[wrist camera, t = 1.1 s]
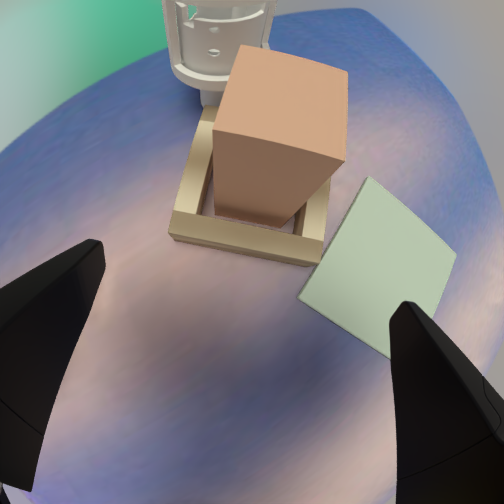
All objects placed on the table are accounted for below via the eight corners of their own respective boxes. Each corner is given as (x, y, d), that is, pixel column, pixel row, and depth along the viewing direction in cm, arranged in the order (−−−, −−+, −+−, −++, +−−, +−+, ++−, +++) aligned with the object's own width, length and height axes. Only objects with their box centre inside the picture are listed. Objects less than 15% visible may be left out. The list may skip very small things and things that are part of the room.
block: (280, 228, 22) (345, 161, 10) (214, 214, 22) (212, 129, 10) (290, 169, 23) (347, 72, 11) (228, 155, 22) (240, 44, 10)
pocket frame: (306, 267, 22) (320, 263, 19) (174, 240, 21) (167, 232, 18) (322, 151, 23) (334, 134, 20) (206, 125, 22) (205, 104, 19)
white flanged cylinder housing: (238, 65, 24) (258, -68, 9) (271, 117, 23) (321, -29, 8) (168, 86, 23) (145, -53, 8) (193, 143, 22) (176, -17, 7)
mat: (402, 367, 22) (406, 368, 21) (296, 298, 21) (298, 298, 21) (452, 255, 24) (456, 254, 23) (365, 178, 23) (368, 175, 23)
